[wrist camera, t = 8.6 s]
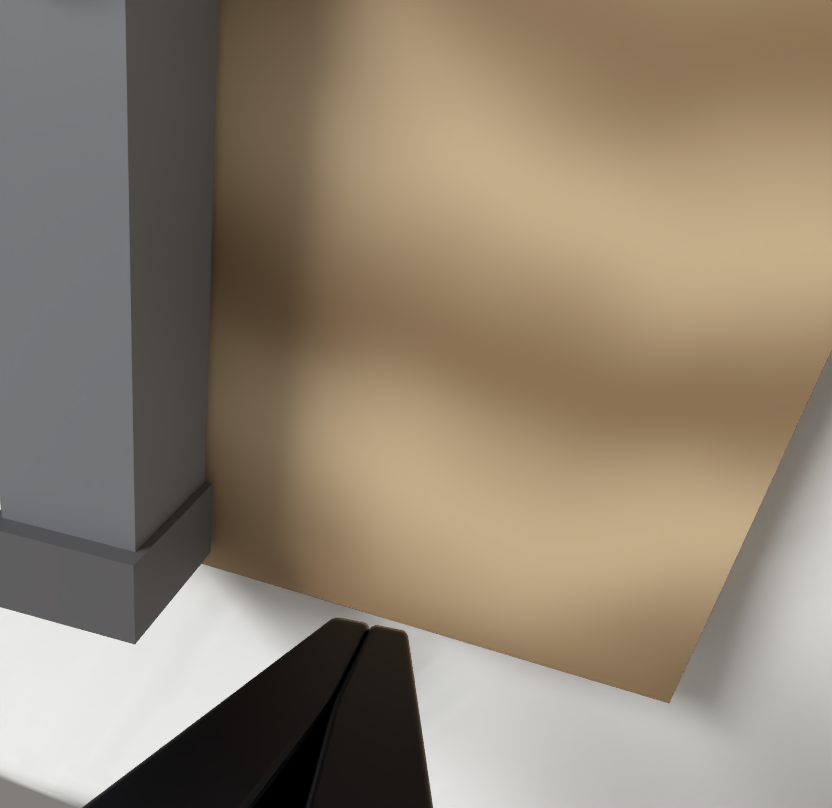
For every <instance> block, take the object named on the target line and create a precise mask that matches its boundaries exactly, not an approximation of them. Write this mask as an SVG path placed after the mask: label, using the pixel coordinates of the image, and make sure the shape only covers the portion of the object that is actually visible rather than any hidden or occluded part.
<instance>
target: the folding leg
mask: <svg viewBox="0 0 832 808" xmlns="http://www.w3.org/2000/svg"><path fill="white" fill-rule="evenodd" d="M217 35H218V0H0V503H1V510H0V607H2V608H6V609H9V610H13V611H17V612H20V613H24V614H27V615H31V616H35V617H38V618H42V619H46V620H49V621H53V622H56V623H60V624H64V625H67V626H71V627H74V628H78V629H82V630H85V631H89V632H92V633H96V634H100V635H103V636H107V637H110V638H114V639H118V640H121V641H125V642H128V643H132V644H136V642H137V641H138V640H139V639H140V638H141V636H142V635H143V634H144V633H145V631H146V630H147V629H148V628H149V627H150V625H151V624H152V623H153V622H154V621H155V619H156V618H157V617H158V616H159V614H160V613H161V612H162V611H163V610H164V608H165V607H166V606H167V605H168V603H169V602H170V601H171V600H172V599H173V597H174V596H175V595H176V594H177V593H178V591H179V590H180V589H181V588H182V586H183V585H184V584H185V583H186V582H187V580H188V579H189V578H190V577H191V575H192V574H193V573H194V572H195V571H196V569H197V568H198V567H199V566H200V565H201V563H202V562H203V561H204V560H205V558H206V557H207V556H208V555H209V554H210V552H211V523H212V493H213V483H208V482H205V464H206V428H207V392H208V357H209V321H210V285H211V249H212V214H213V178H214V142H215V106H216V71H217Z"/></svg>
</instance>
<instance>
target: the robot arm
mask: <svg viewBox="0 0 832 808" xmlns="http://www.w3.org/2000/svg"><path fill="white" fill-rule="evenodd" d="M82 808H433V804H432V797H431V790H430V783H429V776H428V770H427V763H426V756H425V749H424V742H423V735H422V729H421V722H420V715H419V708H418V701H417V694H416V688H415V681H414V674H413V667H412V660H411V653H410V647H409V640H408V635H407V633H406V632H405V631H403V630H398V629H393V628H388V627H383V626H378V625H375V626H373V627H371V628H369V626H368V625H367V624H366V623H364V622H359V621H354V620H349V619H344V618H334V619H331V620H330V621H328V622H327V623H326V624H324V625H323V626H322V627H321V628H319V629H318V630H317V631H315V632H314V633H313V634H311V635H310V636H309V637H307V638H306V639H305V640H303V641H302V642H301V643H299V644H298V645H297V646H295V647H294V648H293V649H291V650H290V651H289V652H287V653H286V654H285V655H283V656H282V657H281V658H279V659H278V660H277V661H275V662H274V663H273V664H272V665H270V666H269V667H268V668H266V669H265V670H264V671H262V672H261V673H260V674H258V675H257V676H256V677H254V678H253V679H252V680H250V681H249V682H248V683H246V684H245V685H244V686H242V687H241V688H240V689H238V690H237V691H236V692H234V693H233V694H232V695H230V696H229V697H228V698H227V699H225V700H224V701H223V702H221V703H220V704H219V705H217V706H216V707H215V708H213V709H212V710H211V711H209V712H208V713H207V714H205V715H204V716H203V717H201V718H200V719H199V720H197V721H196V722H195V723H193V724H192V725H191V726H189V727H188V728H187V729H185V730H184V731H183V732H182V733H180V734H179V735H178V736H176V737H175V738H174V739H172V740H171V741H170V742H168V743H167V744H166V745H164V746H163V747H162V748H160V749H159V750H158V751H156V752H155V753H154V754H152V755H151V756H150V757H148V758H147V759H146V760H144V761H143V762H142V763H140V764H139V765H138V766H136V767H135V768H134V769H133V770H131V771H130V772H129V773H127V774H126V775H125V776H123V777H122V778H121V779H119V780H118V781H117V782H115V783H114V784H113V785H111V786H110V787H109V788H107V789H106V790H105V791H103V792H102V793H101V794H99V795H98V796H97V797H95V798H94V799H93V800H91V801H90V802H89V803H88V804H86V805H85V806H84V807H82Z"/></svg>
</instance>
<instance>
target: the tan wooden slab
mask: <svg viewBox="0 0 832 808" xmlns="http://www.w3.org/2000/svg"><path fill="white" fill-rule="evenodd" d="M831 350H832V0H218V35H217V71H216V106H215V142H214V178H213V214H212V249H211V285H210V321H209V357H208V392H207V428H206V464H205V482H208V483H213V493H212V523H211V552H210V554H209V555H208V556H207V557H206V558H205V560H204V561H203V562H202V564H205V565H209V566H212V567H215V568H219V569H222V570H225V571H229V572H232V573H235V574H239V575H242V576H245V577H249V578H252V579H255V580H259V581H262V582H265V583H269V584H272V585H275V586H279V587H282V588H285V589H289V590H292V591H295V592H299V593H302V594H306V595H309V596H312V597H316V598H319V599H322V600H326V601H329V602H332V603H336V604H339V605H342V606H346V607H349V608H352V609H356V610H359V611H362V612H366V613H369V614H372V615H376V616H379V617H382V618H386V619H389V620H392V621H396V622H399V623H402V624H406V625H409V626H413V627H416V628H419V629H423V630H426V631H429V632H433V633H436V634H439V635H443V636H446V637H449V638H453V639H456V640H459V641H463V642H466V643H469V644H473V645H476V646H479V647H483V648H486V649H489V650H493V651H496V652H499V653H503V654H506V655H509V656H513V657H516V658H520V659H523V660H526V661H530V662H533V663H536V664H540V665H543V666H546V667H550V668H553V669H556V670H560V671H563V672H566V673H570V674H573V675H576V676H580V677H583V678H586V679H590V680H593V681H596V682H600V683H603V684H606V685H610V686H613V687H616V688H620V689H623V690H627V691H630V692H633V693H637V694H640V695H643V696H647V697H650V698H653V699H657V700H660V701H663V702H667V703H670V701H671V698H672V696H673V694H674V692H675V690H676V688H677V685H678V683H679V681H680V679H681V677H682V674H683V672H684V670H685V668H686V666H687V664H688V661H689V659H690V657H691V655H692V653H693V651H694V648H695V646H696V644H697V642H698V640H699V637H700V635H701V633H702V631H703V629H704V627H705V624H706V622H707V620H708V618H709V616H710V614H711V611H712V609H713V607H714V605H715V603H716V601H717V598H718V596H719V594H720V592H721V590H722V587H723V585H724V583H725V581H726V579H727V577H728V574H729V572H730V570H731V568H732V566H733V564H734V561H735V559H736V557H737V555H738V553H739V550H740V548H741V546H742V544H743V542H744V540H745V537H746V535H747V533H748V531H749V529H750V527H751V524H752V522H753V520H754V518H755V516H756V513H757V511H758V509H759V507H760V505H761V503H762V500H763V498H764V496H765V494H766V492H767V490H768V487H769V485H770V483H771V481H772V479H773V476H774V474H775V472H776V470H777V468H778V466H779V463H780V461H781V459H782V457H783V455H784V453H785V450H786V448H787V446H788V444H789V442H790V440H791V437H792V435H793V433H794V431H795V429H796V426H797V424H798V422H799V420H800V418H801V416H802V413H803V411H804V409H805V407H806V405H807V403H808V400H809V398H810V396H811V394H812V392H813V389H814V387H815V385H816V383H817V381H818V379H819V376H820V374H821V372H822V370H823V368H824V366H825V363H826V361H827V359H828V357H829V355H830V352H831Z"/></svg>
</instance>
